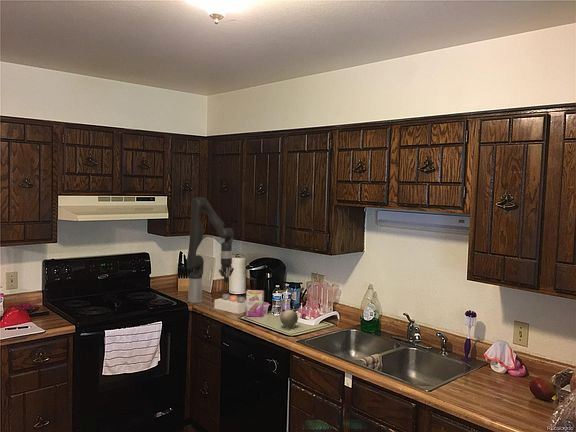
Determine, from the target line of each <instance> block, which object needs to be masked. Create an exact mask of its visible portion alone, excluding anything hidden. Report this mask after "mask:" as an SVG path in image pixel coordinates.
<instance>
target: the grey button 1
mask: <svg viewBox="0 0 576 432" xmlns="http://www.w3.org/2000/svg"><path fill="white" fill-rule="evenodd" d="M230 296H231V295H230V293H222V297H221V298H222V299H223V300H229V299H230Z"/></svg>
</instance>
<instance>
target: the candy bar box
mask: <svg viewBox="0 0 576 432" xmlns="http://www.w3.org/2000/svg"><path fill="white" fill-rule="evenodd" d="M245 300H246V312H245V317H251V318H253V317H254V318H264V315H265V313H264V311H265V310H264V309H265V290H255V289H247V290H246V291H245Z"/></svg>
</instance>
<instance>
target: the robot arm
mask: <svg viewBox="0 0 576 432" xmlns="http://www.w3.org/2000/svg"><path fill="white" fill-rule="evenodd" d="M200 211H203V212H204V213H205V214H207V217H208V221H209V223H210V224H211V225H212V227H213V228H214V229H215V231H216V233H217V235H218V236H219V238H221V239H224V241H222V242H221V243H220V245H221V246H220V249H221V250H220V264H221V265H220V269H218V273H219V274H220V276H221V277H223V281H224V284H225V283H226V284H227V283H229V277H230V276H232V274H233V272H234V270H235V268H234V267H232V264H233V252H232V251H233V250H232V247H233V246H232V245H233V241H234V235H235V233H234V229H233V228H231V227H225V223H224V221H223V220H222V219H221V218H220V216H219V215H217V213H216V211H215V210H214V209H213V207H212V205H211V204H210V202H209V200H208V199H207V198H206V197H203V196H201V197H199V196H196V197H193V198H191V201H190V228H189V243H188V244H189V245H188V252H187V256H186V266H187V268H188V269H189V270H192V272H190V273H189V274H188V288H187V299H188V300H187V302H189V303H192V304H198V303H202V302H203V275H204V266H205V265H204V263H205V262H204V261H205V260H204V258H203V256H202V255H198V254H197V251H198V248H199V246H200V245H201V244H202V241H203V239H204V238H203V237H204V226H203V223H202V222H201V219H200Z"/></svg>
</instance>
